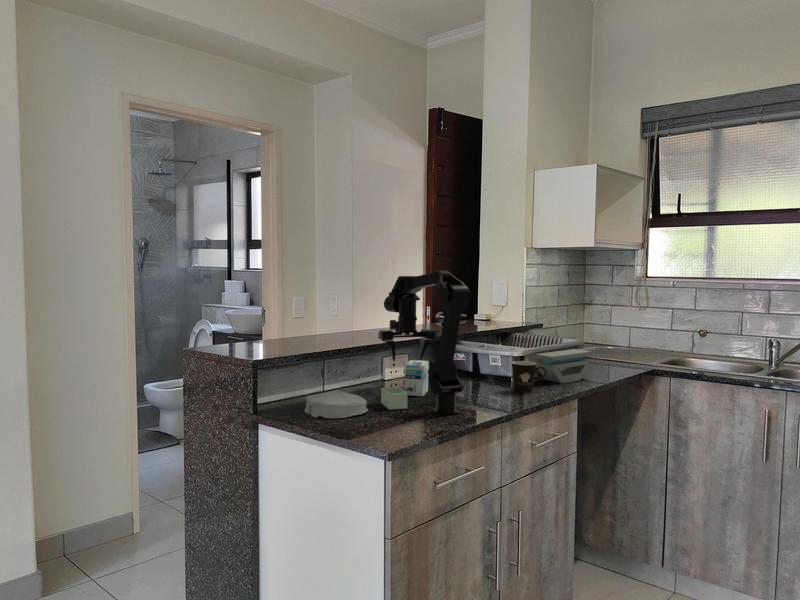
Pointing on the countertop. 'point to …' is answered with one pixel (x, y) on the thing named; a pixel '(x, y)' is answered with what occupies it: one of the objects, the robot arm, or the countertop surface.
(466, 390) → the countertop surface
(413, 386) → the light bulb box
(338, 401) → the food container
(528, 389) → the coffee mug
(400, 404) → the crate
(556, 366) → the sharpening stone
